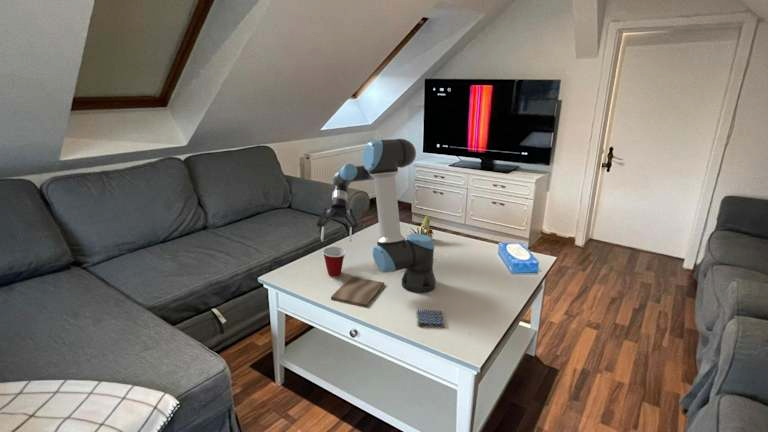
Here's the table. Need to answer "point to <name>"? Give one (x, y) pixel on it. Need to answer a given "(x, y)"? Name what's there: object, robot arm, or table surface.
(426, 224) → the chocolate bunny
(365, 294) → the walnut board
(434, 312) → the woven mat
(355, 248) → the table surface
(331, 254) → the plastic cup
